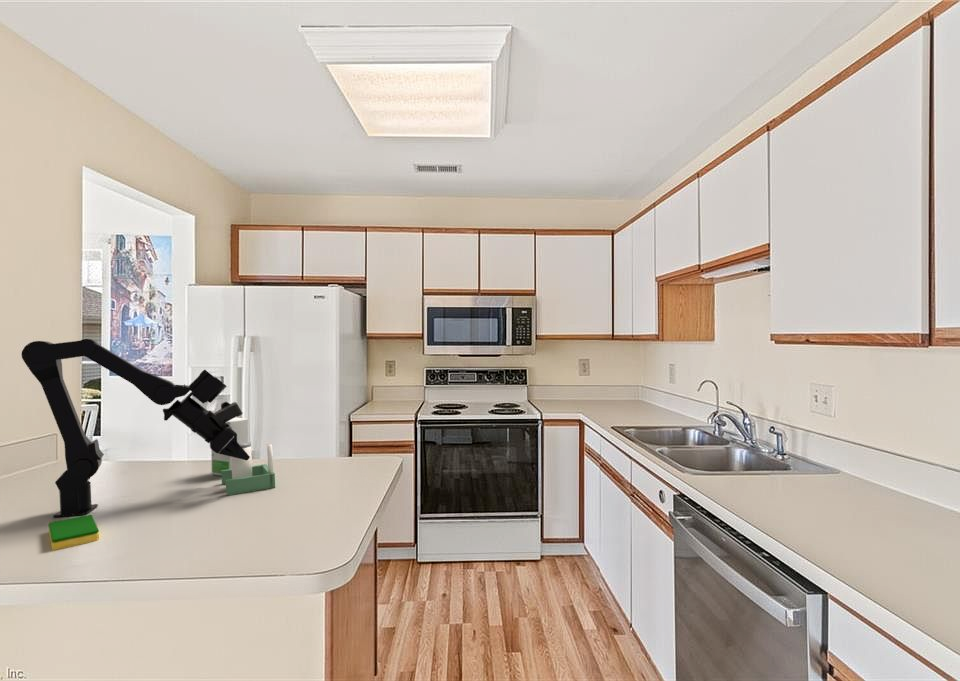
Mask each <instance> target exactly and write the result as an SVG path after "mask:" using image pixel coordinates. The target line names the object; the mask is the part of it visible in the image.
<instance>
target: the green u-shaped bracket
mask: <svg viewBox="0 0 960 681" xmlns="http://www.w3.org/2000/svg"><path fill="white" fill-rule="evenodd" d="M266 445H267V447H266V448H267V449H266V450H267V451H266V452H267V453H266V454H267V464H266V463H265V464H257V465H252V476H249V477H242V478H235V479H232V469H228V470H221V485H225V493H226V496H231V495H237V494H243V493H249V492H254V491H261V490H268V489H275V488H276V475H275V474H276V473H275V472H274V460H273V459H274V458H273V457H274V456H273V444H269V443H267V444H266Z"/></svg>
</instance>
